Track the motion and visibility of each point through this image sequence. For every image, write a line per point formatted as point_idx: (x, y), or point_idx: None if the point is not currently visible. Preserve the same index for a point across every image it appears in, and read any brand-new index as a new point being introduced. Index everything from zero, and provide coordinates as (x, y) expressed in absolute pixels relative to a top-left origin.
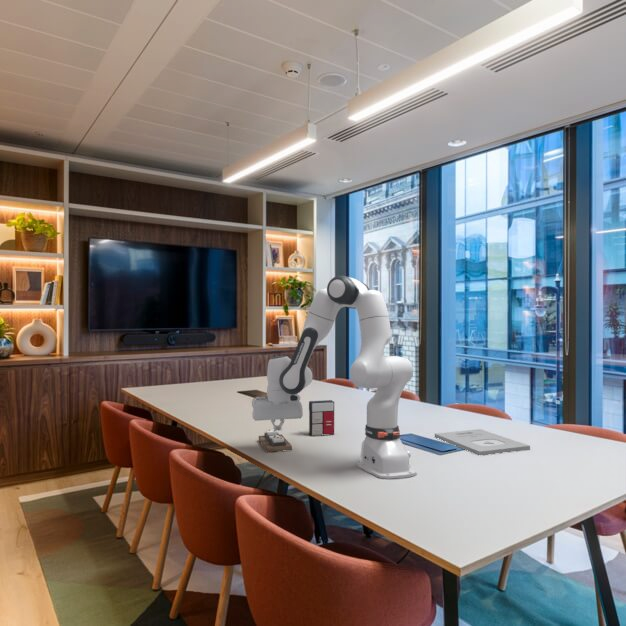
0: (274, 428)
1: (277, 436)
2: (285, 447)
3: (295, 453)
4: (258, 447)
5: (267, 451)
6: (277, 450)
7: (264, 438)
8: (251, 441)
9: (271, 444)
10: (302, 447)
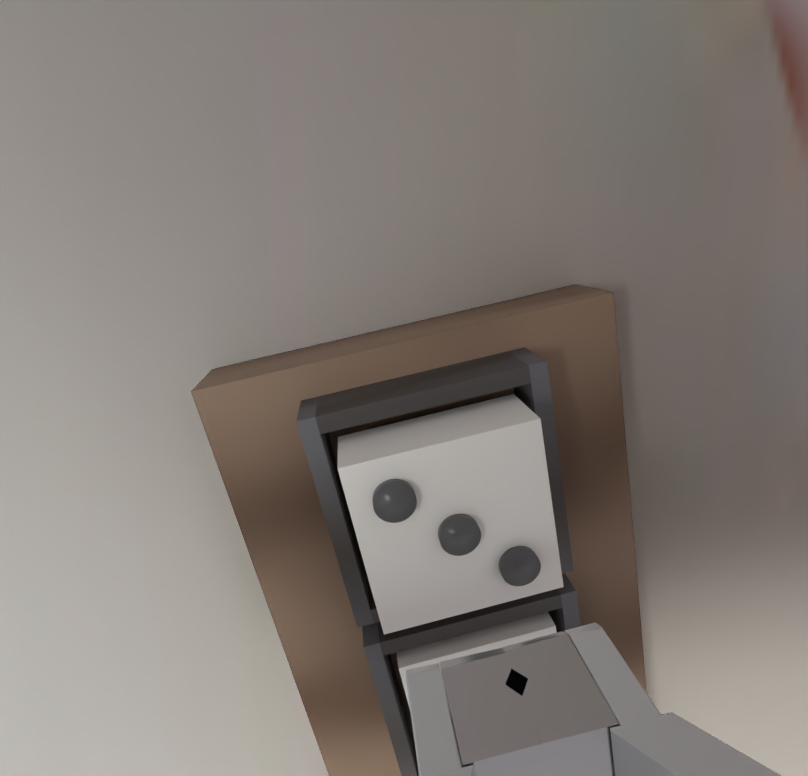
0: (622, 661)
1: None
2: (306, 360)
3: (139, 215)
4: (659, 527)
5: (577, 287)
6: (431, 322)
7: None
8: None
9: None
10: (66, 533)
